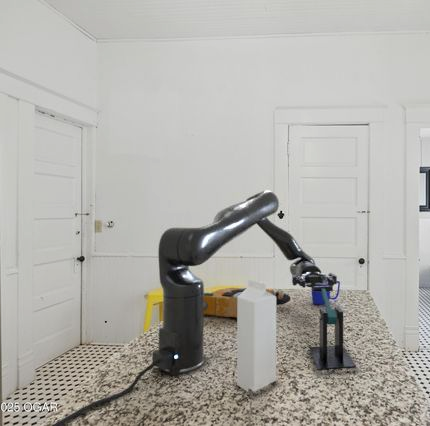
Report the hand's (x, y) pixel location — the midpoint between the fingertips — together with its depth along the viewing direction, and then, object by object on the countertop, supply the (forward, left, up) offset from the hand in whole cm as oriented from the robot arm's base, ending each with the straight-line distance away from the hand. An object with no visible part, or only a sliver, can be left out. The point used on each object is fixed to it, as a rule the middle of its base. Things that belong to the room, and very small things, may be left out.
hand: (318, 283), depth 94 cm
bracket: (-13, -11, -16) cm, 23 cm away
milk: (-31, -2, -16) cm, 35 cm away
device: (+7, +34, -16) cm, 39 cm away
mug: (+32, +13, -16) cm, 38 cm away
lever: (-9, -7, -3) cm, 12 cm away
